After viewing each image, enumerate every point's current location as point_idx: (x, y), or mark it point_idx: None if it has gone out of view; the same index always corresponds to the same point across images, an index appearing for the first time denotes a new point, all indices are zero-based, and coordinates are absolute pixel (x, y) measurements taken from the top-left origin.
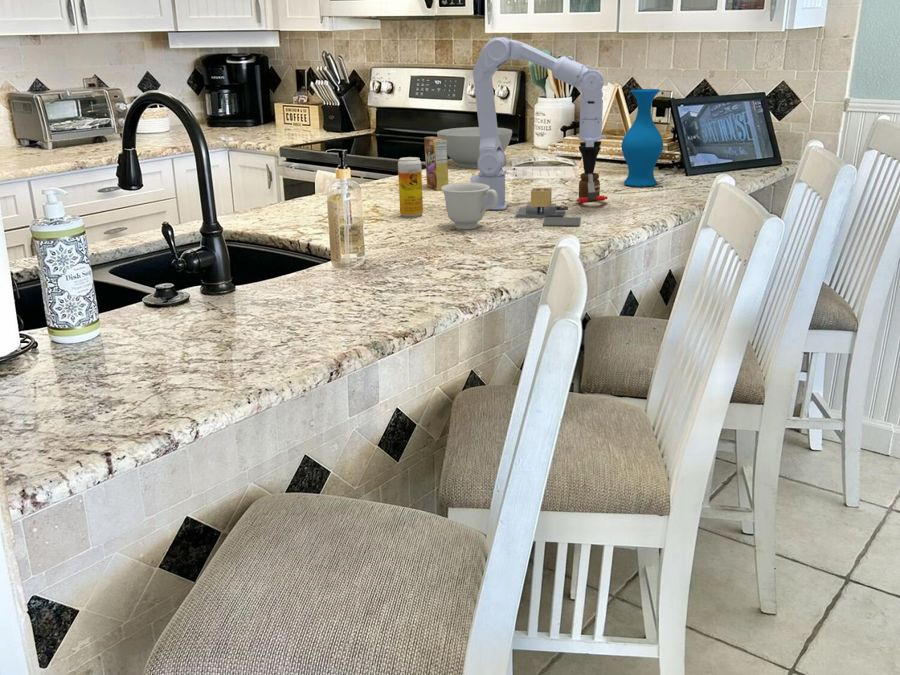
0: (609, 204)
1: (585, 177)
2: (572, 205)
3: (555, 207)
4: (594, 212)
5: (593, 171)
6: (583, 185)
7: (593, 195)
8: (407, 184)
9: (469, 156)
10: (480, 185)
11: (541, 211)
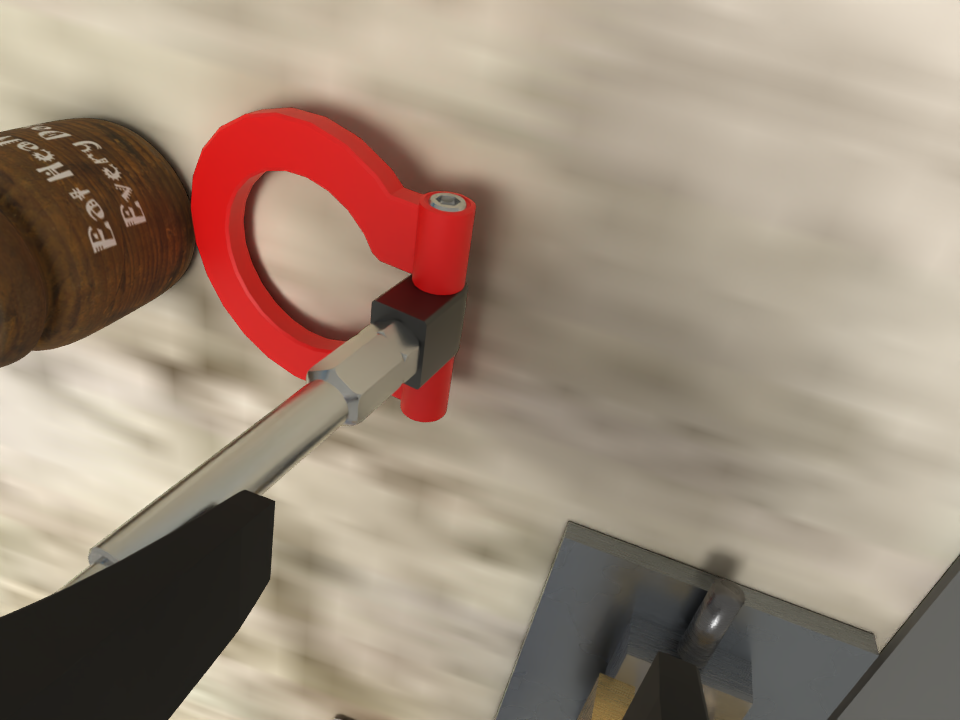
0: (368, 90)
1: (23, 343)
2: (384, 410)
3: (719, 678)
4: (717, 342)
5: (702, 695)
6: (96, 325)
7: (443, 328)
8: None
9: None
10: None
11: None
